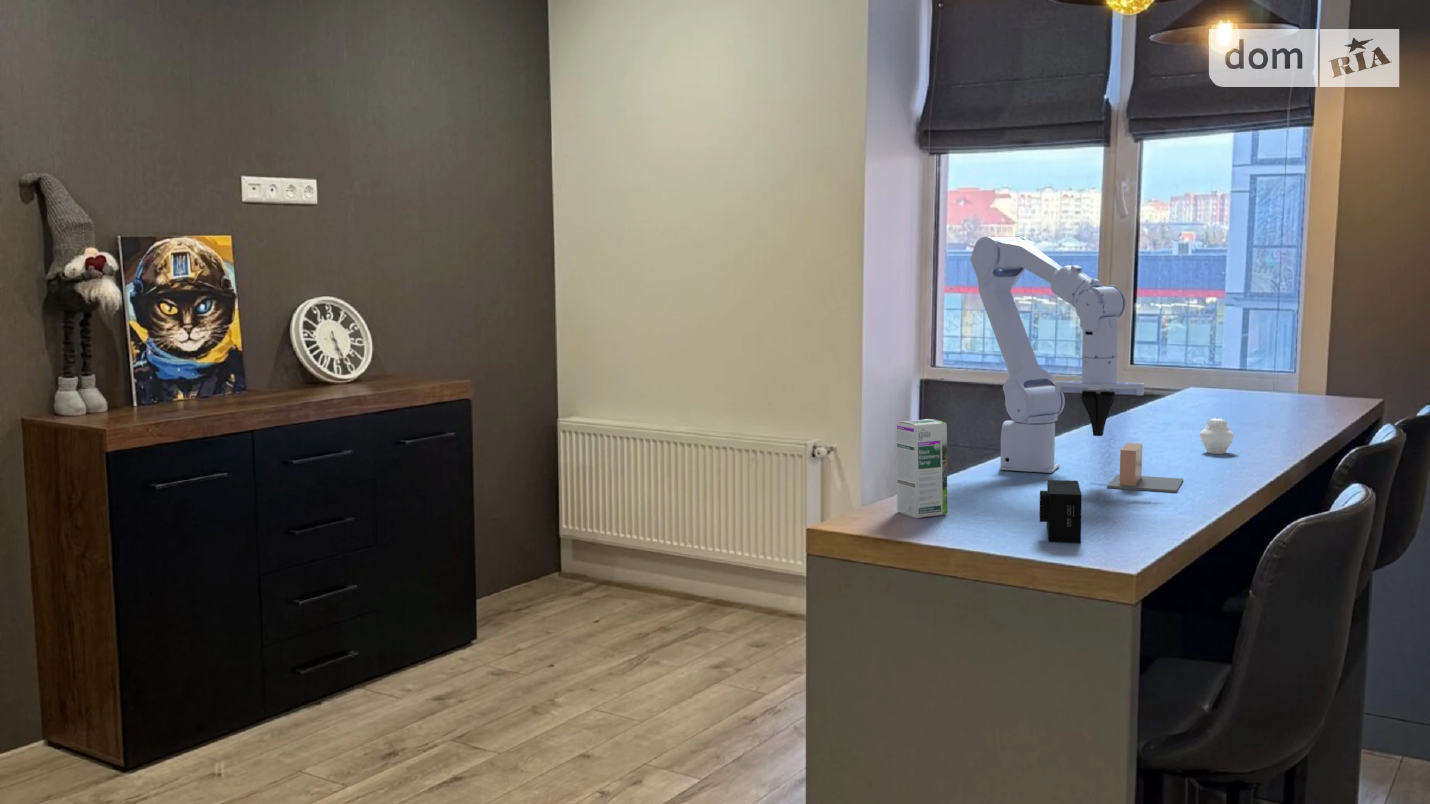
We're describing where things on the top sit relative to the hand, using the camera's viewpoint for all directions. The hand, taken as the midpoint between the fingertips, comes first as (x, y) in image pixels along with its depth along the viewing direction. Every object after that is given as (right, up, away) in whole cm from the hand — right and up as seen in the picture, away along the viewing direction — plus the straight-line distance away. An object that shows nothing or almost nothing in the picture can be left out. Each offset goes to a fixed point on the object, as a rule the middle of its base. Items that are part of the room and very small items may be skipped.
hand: (1098, 435), depth 206 cm
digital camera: (-17, -13, -36) cm, 42 cm away
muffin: (+32, -4, +27) cm, 42 cm away
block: (+5, -8, -2) cm, 9 cm away
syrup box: (-34, -12, -22) cm, 42 cm away
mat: (+7, -8, -3) cm, 11 cm away
